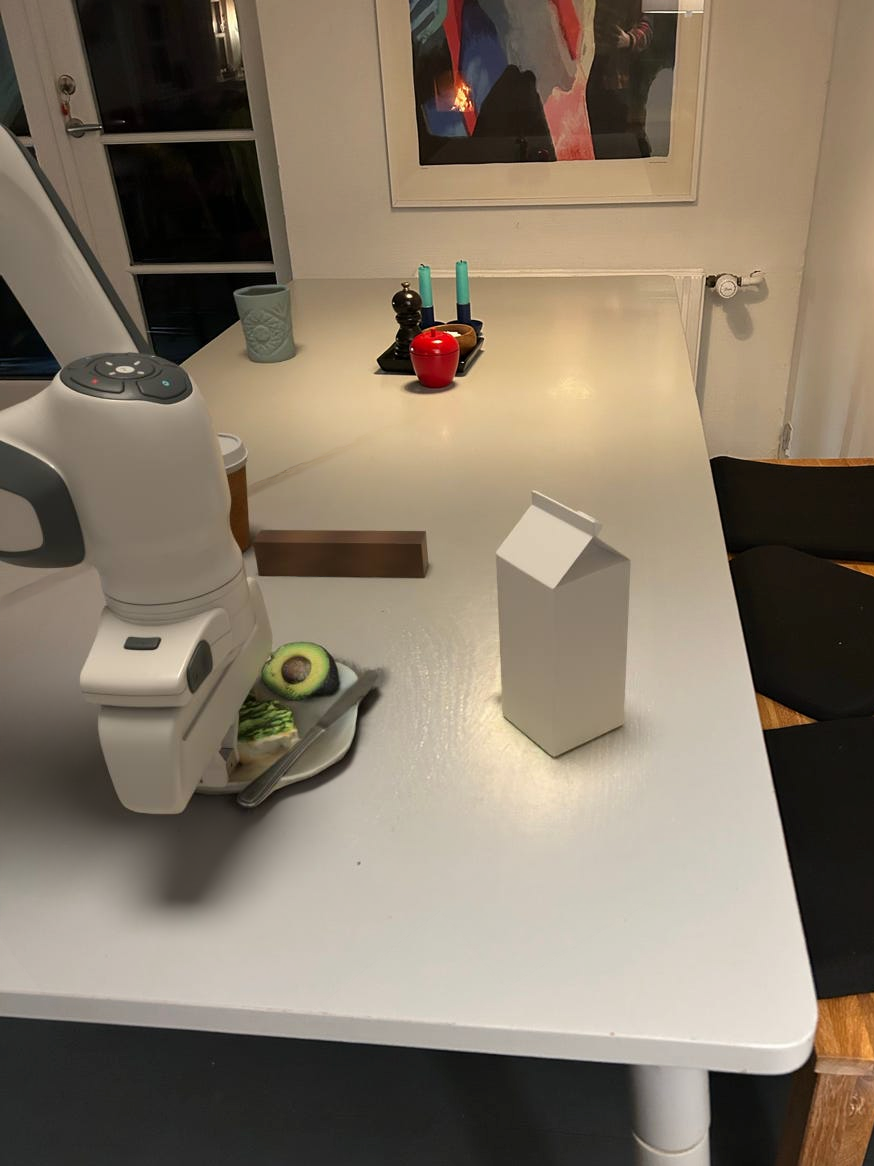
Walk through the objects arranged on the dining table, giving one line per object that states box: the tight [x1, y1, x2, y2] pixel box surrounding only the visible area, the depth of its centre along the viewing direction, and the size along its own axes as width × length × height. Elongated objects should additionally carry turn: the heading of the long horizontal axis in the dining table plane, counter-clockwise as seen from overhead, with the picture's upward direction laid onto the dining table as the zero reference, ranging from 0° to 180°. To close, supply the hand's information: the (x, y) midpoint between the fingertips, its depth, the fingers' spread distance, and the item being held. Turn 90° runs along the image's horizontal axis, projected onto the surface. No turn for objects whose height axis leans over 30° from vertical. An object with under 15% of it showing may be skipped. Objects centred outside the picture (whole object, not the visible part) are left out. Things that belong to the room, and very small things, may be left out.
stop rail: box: [252, 529, 430, 578], centre depth 101 cm, size 18×3×4 cm, turn 84°
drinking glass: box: [233, 284, 296, 364], centre depth 174 cm, size 10×10×12 cm
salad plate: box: [194, 641, 380, 808], centre depth 75 cm, size 19×18×5 cm
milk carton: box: [495, 490, 631, 758], centre depth 72 cm, size 7×7×19 cm
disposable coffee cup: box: [216, 432, 251, 553], centre depth 105 cm, size 10×10×12 cm
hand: (222, 774), depth 69 cm, fingers closed
